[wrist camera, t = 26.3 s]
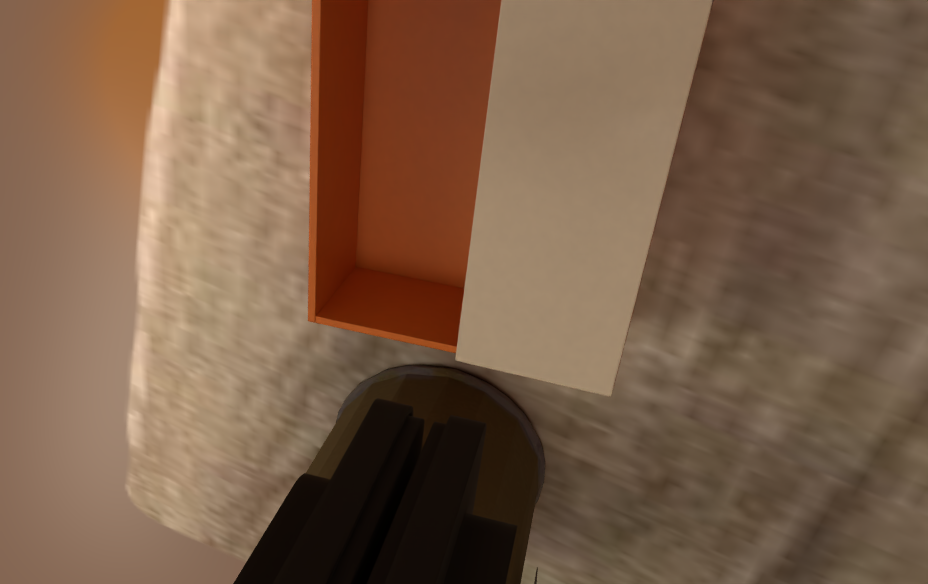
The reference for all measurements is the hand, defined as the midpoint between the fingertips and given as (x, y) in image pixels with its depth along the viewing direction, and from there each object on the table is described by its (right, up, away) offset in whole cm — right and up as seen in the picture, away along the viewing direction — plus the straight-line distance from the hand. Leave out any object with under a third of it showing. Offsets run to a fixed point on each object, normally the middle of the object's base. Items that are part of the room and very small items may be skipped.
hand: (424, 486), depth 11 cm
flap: (+4, +6, +12) cm, 14 cm away
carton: (+2, +9, +17) cm, 19 cm away
